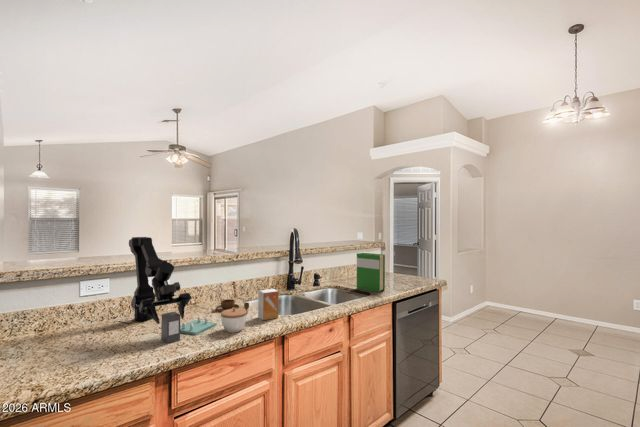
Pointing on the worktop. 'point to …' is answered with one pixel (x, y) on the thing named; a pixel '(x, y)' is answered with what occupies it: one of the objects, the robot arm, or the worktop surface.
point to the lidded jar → (233, 319)
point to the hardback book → (371, 272)
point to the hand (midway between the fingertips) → (171, 320)
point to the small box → (268, 304)
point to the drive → (170, 327)
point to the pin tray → (196, 326)
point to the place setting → (229, 305)
